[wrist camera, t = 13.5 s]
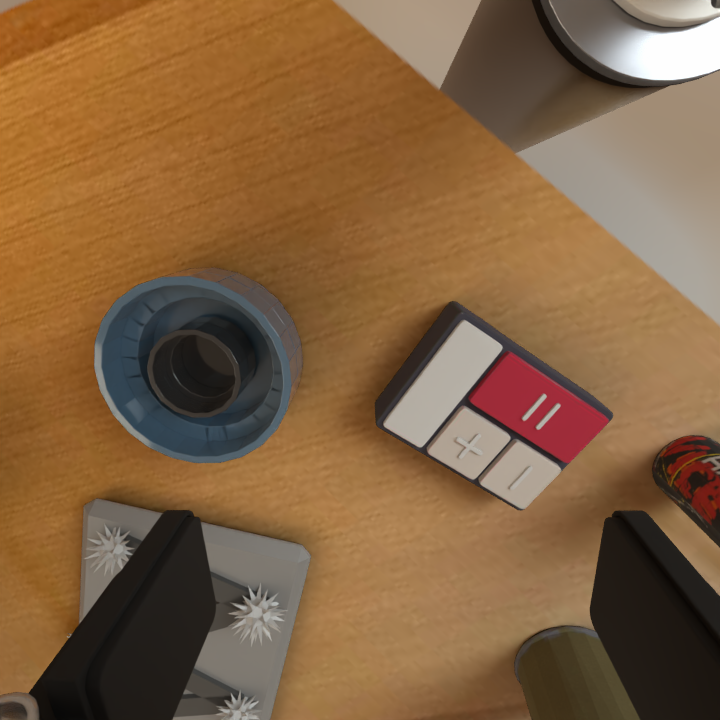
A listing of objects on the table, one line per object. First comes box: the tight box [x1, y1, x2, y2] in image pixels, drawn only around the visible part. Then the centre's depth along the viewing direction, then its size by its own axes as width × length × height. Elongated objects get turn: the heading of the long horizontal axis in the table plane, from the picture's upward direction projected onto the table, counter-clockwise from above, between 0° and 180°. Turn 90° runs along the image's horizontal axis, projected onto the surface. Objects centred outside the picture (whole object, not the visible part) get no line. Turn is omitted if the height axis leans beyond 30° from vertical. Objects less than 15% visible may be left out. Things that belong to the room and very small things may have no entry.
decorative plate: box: [67, 498, 311, 720], centre depth 43 cm, size 30×22×7 cm
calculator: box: [375, 301, 613, 510], centre depth 35 cm, size 11×4×15 cm
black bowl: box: [147, 317, 256, 418], centre depth 34 cm, size 7×7×4 cm
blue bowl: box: [94, 267, 303, 463], centre depth 34 cm, size 14×14×6 cm
